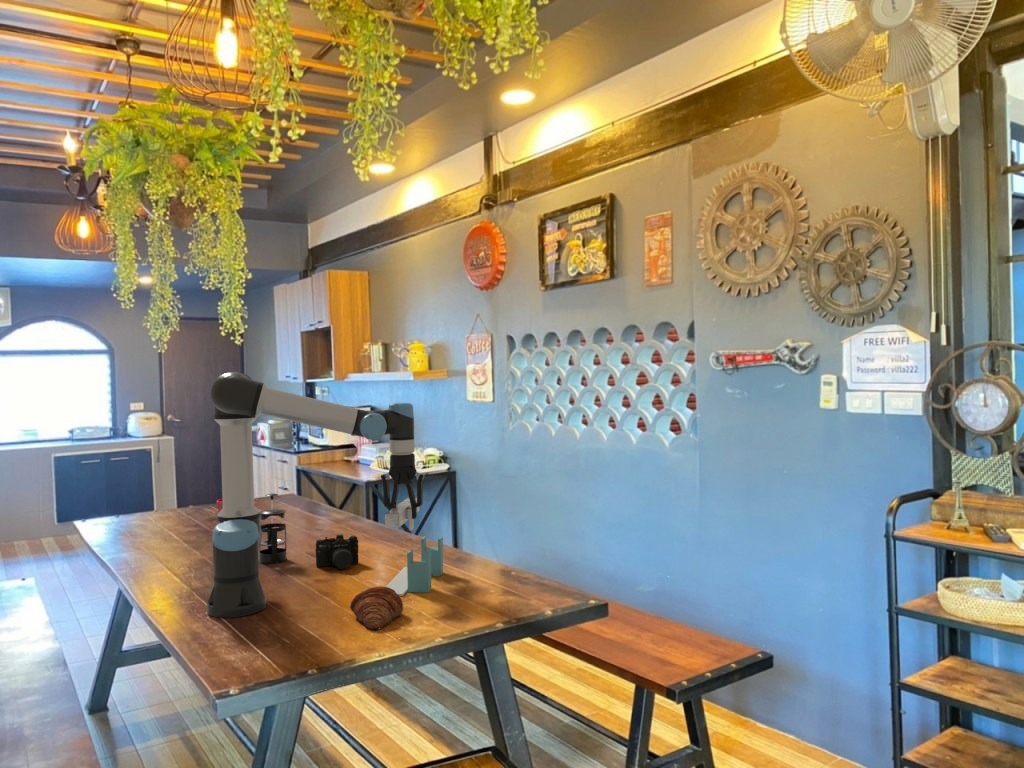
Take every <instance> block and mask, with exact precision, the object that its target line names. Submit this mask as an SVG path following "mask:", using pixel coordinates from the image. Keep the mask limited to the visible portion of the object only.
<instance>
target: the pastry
mask: <svg viewBox="0 0 1024 768" xmlns="http://www.w3.org/2000/svg"><path fill="white" fill-rule="evenodd" d="M349 607H350V610H351V611H352V612H353V614H354V615H355V617H356V619H357V620H358V622H359V621H361V622H360V623H362V624H363V623H364V624H363V625H364V626H366V627H365V628H367V627H368V628H367V629H369V628H371V629H370V630H375V629H376V630H375V631H378V630H377V629H379V628H381V629H383V628H384V627H385V626H387V625H389V624H390V623H391V620H392V621H394V620H395V619H394V618H396V619H397V618H398V617H400V616H401V615H402V613H403V611H404V604H403V600H402V598H401V596H399V595H398V594H397V593H396V592H395V591H394V590H393V589H391V588H389V587H386V586H374V587H370V588H367V589H365V590H363V591H361V592H360V593H358V594H356V595H355V596H354V598H353V599H352V600H351V602H350V606H349ZM389 622H390V623H389ZM388 623H389V624H388ZM386 624H387V625H386ZM383 626H384V627H383ZM382 627H383V628H382ZM379 630H380V629H379Z"/></svg>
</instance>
